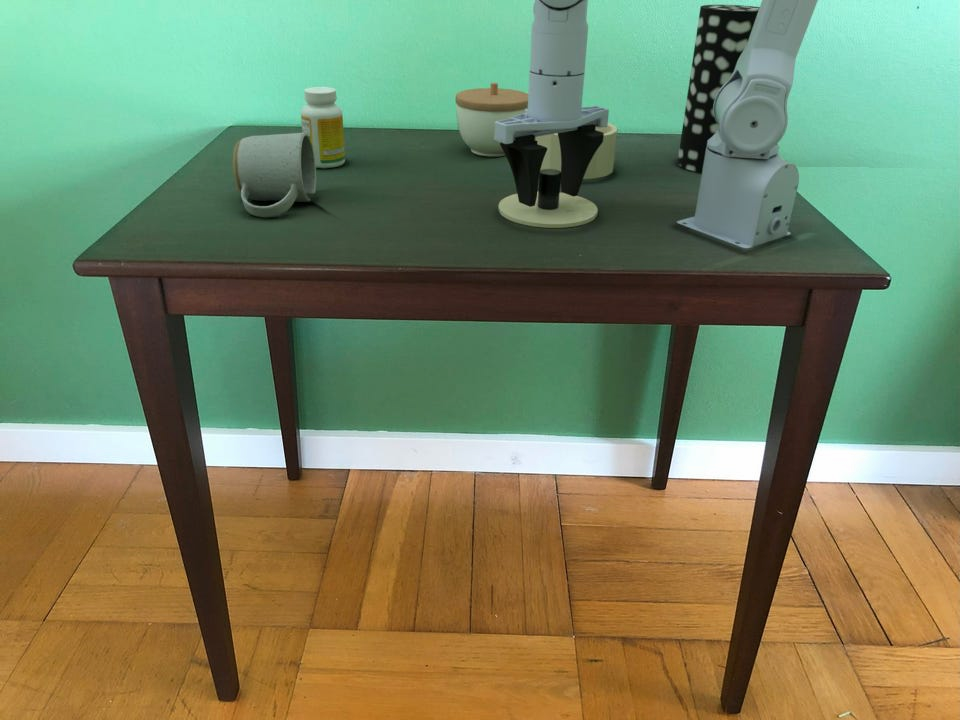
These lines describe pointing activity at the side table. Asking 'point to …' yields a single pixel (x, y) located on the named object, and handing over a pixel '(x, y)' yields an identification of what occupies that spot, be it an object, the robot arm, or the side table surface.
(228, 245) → the side table surface
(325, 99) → the supplement bottle
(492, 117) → the trinket box
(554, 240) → the side table surface
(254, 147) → the ceramic mug
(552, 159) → the tin
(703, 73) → the white-spotted black cylinder
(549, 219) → the tin lid
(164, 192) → the side table surface
